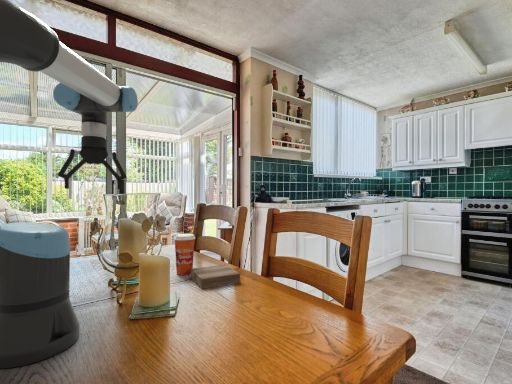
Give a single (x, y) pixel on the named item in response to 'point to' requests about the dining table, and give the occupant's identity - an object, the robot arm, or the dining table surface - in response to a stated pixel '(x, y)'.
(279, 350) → the dining table surface
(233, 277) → the walnut plinth
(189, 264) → the paper cup
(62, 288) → the robot arm
